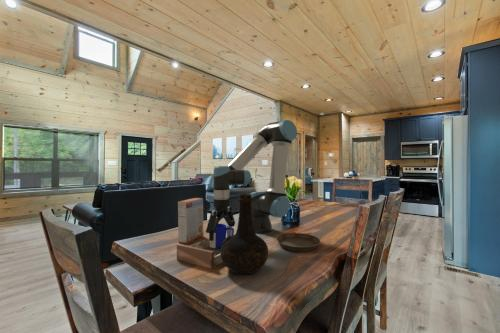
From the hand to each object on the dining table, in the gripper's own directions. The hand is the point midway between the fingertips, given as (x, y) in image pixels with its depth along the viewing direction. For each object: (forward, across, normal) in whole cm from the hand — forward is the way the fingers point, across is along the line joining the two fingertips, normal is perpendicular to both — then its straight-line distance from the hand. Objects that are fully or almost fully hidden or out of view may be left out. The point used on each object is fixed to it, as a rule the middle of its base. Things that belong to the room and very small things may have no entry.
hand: (221, 243), depth 113 cm
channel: (+2, +13, +2) cm, 13 cm away
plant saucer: (+2, -20, +31) cm, 37 cm away
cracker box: (+2, -2, -21) cm, 21 cm away
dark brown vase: (+2, +16, +22) cm, 27 cm away
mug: (+2, 0, 0) cm, 2 cm away
